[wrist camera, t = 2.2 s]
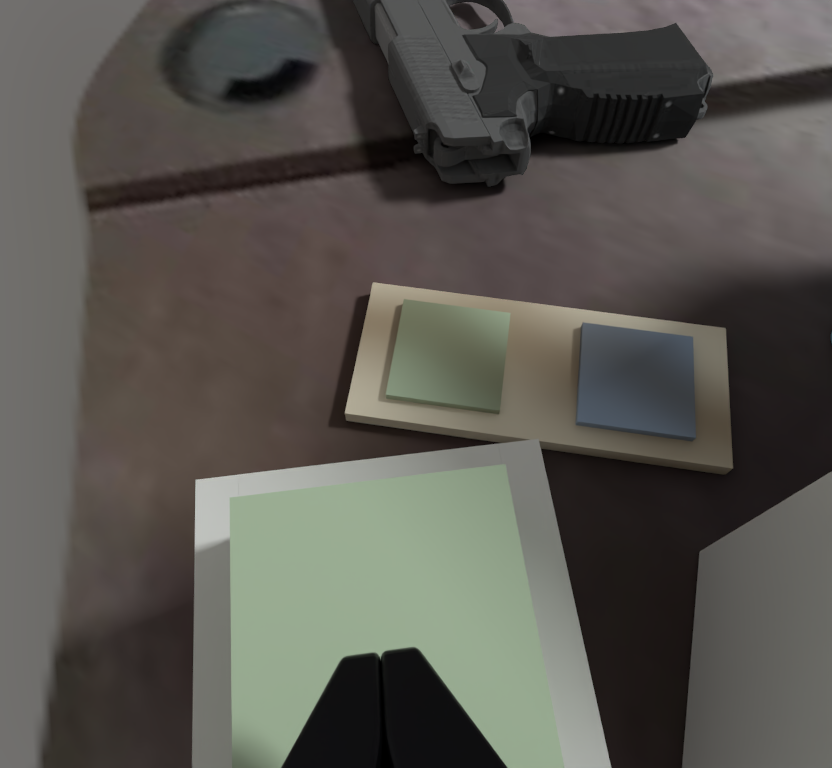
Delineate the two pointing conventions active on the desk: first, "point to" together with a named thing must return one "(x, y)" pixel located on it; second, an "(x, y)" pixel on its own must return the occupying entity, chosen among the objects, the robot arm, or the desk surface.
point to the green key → (385, 605)
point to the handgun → (528, 85)
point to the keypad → (559, 625)
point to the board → (544, 377)
